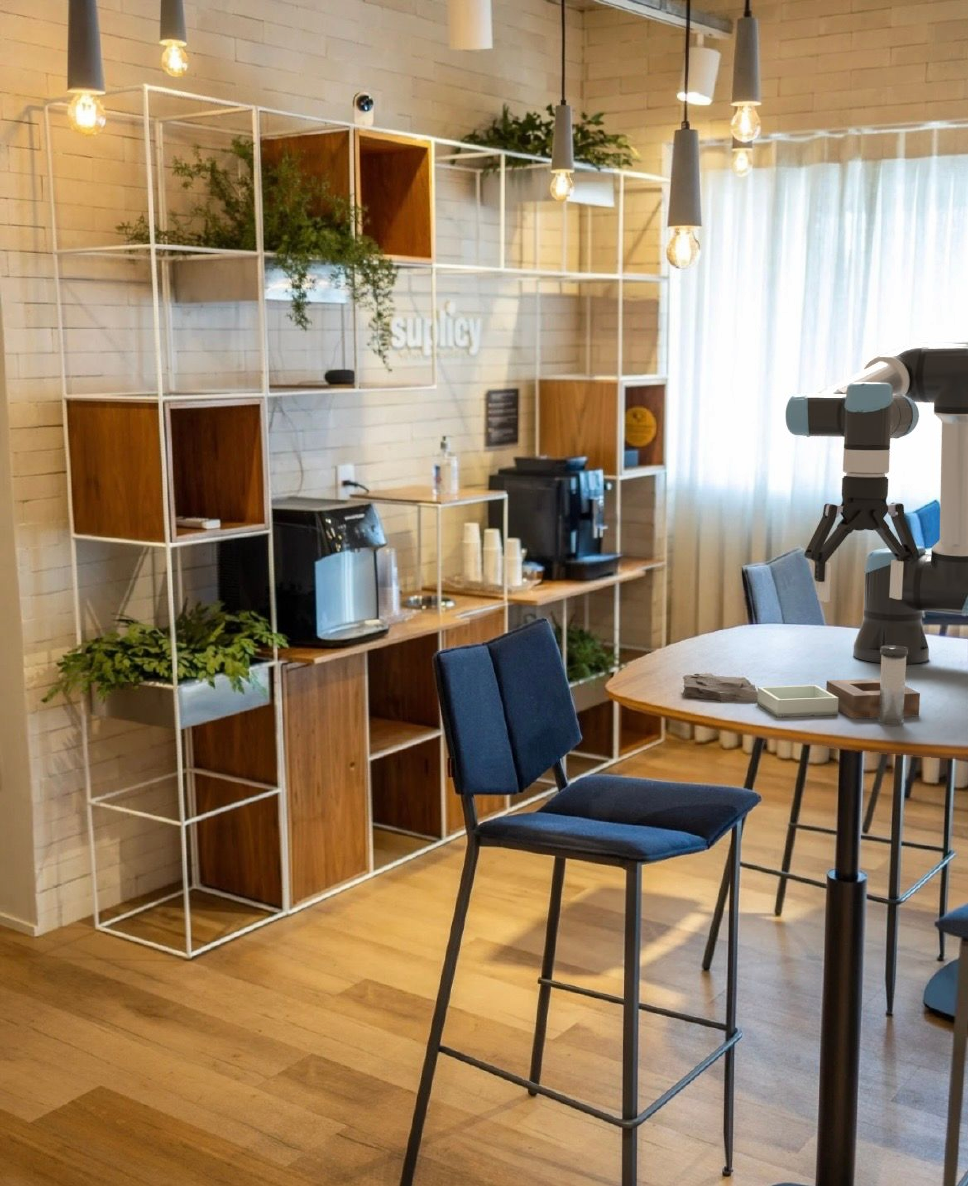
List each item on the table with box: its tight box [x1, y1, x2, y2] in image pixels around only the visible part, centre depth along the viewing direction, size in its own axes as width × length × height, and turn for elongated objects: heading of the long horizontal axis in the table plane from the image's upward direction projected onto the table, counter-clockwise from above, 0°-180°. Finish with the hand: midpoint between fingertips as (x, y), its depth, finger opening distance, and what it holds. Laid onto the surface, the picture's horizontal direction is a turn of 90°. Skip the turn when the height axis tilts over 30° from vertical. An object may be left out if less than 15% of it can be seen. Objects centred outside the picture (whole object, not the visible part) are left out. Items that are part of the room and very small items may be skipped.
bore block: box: [825, 678, 921, 719], centre depth 243 cm, size 12×12×4 cm
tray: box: [756, 684, 839, 718], centre depth 243 cm, size 11×10×3 cm
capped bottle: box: [878, 645, 908, 727], centre depth 232 cm, size 4×4×13 cm
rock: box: [682, 672, 758, 703], centre depth 253 cm, size 14×9×4 cm
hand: (859, 599), depth 234 cm, fingers open, 13 cm apart
